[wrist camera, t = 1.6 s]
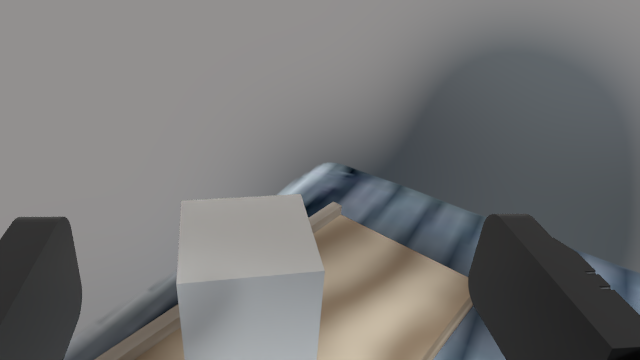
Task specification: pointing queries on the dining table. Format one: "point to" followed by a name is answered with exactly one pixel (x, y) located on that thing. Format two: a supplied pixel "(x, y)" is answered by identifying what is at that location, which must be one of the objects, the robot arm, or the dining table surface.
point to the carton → (248, 279)
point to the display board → (352, 301)
